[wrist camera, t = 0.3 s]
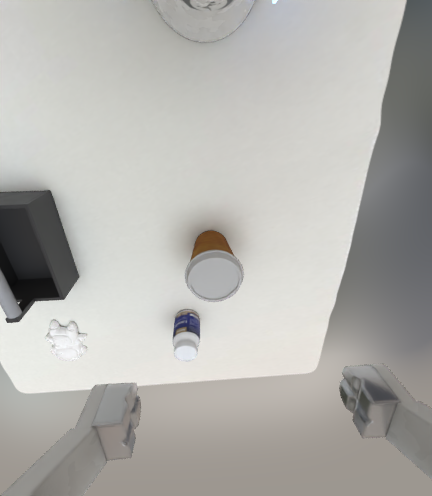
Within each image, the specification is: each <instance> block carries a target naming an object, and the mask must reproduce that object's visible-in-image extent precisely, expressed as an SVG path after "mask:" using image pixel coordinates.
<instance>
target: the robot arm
mask: <svg viewBox="0 0 432 496" xmlns="http://www.w3.org/2000/svg"><path fill="white" fill-rule="evenodd" d="M255 1H256V0H152V2H153V4H154V5H155V7H156V9H157V10H158V12H159V14H160V15H161V17H162V18H163V19H164V21H165V22H166V23H167V24H168V25H169V26H170V27H171V28H172V29H173V30H174V31H176V32H177V33H178V34H180V35H181V36H183V37H185V38H187V39H190V40H193V41H197V42H213V41H217V40H220V39H223V38H225V37H226V36H228V35H230V34H231V33H232V32H234V31H235V30H236V29H237V28H238V27H239V26H240V25H241V24H242V22H243V21H244V20H245V18H246V17H247V15H248V14H249V12H250V10H251V8H252V6H253V4H254V2H255ZM276 1H277V0H273V3H276ZM342 374H343V376H344V379H343V380H342V381H341V382H340V388H339V389H340V395H341V398H342V401H343V403H344V405H345V407H346V408H347V409H348V410H349V411H350V412H352V413H353V422H354V424H355V425H356V427H357V429H358V431H359V433H360V435H361V436H362V438H377V437H386V439H387V440H388V441H389V442H390V443H391V444H393V445H394V446H395V447H396V448H397V449H398V450H399V451H400V452H402V453H403V454H404V455H405V456H406V457H407V458H408V459H409V460H411V461H412V462H413V463H414V464H415V465H416V466H417V467H418V468H420V469H421V470H422V471H423V472H424V473H425V474H426V475H427V476H429V477H430V478H431V479H432V408H431V407H429V406H427V405H426V404H424V403H423V402H421V401H416V400H415V399H414V398H413V397H412V396H411V395H410V393H409V392H408V391H407V390H406V388H405V387H404V386H403V385H402V384H401V382H400V381H399V380H398V379H397V378H396V376H395V375H394V374H393V373H392V372H391V370H390V369H389V368H388V367H387V366H386V365H384V364H372V365H358V366H346V367H344V369H343V372H342ZM137 390H138V388H137V384H136V383H118V384H101V385H95V386H94V387H93V388H92V390H91V393H90V395H89V397H88V399H87V402H86V404H85V407H84V409H83V411H82V413H81V416H80V418H79V420H78V423H77V425H76V427H75V429H70V430H69V431H68V432H67V433H66V434H65V435H64V436H63V437H62V438H61V439H60V440H59V441H57V442H56V443H55V444H54V445H53V446H52V447H51V448H50V449H49V450H48V451H47V452H46V453H45V454H44V455H43V456H42V457H41V458H40V459H39V460H37V461H36V462H35V463H34V464H33V465H32V466H31V467H30V468H29V469H28V470H27V471H26V472H25V473H24V474H23V475H22V476H21V477H20V478H18V479H17V480H16V481H15V482H14V483H13V484H12V485H11V486H10V487H9V488H8V489H7V490H6V491H5V492H4V493H3V494H2V495H1V496H83V495H84V493H85V492H86V491H87V489H88V488H89V487H90V485H91V484H92V482H93V481H94V479H95V478H96V477H97V475H98V474H99V473H100V471H101V470H102V468H103V467H104V466H105V464H106V463H107V461H109V460H117V459H126V458H131V457H132V453H133V448H134V444H135V439H136V437H135V432H134V429H136V427H137V426H138V425H139V420H140V413H141V402H140V397H139V396H137Z"/></svg>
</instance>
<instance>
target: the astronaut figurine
mask: <svg viewBox="0 0 432 496" xmlns="http://www.w3.org/2000/svg"><path fill="white" fill-rule="evenodd" d="M86 337H87V335H86V334H79V333H78V330H77V326H76V324H75V323H74V322H71V323H69V325H68V327H61V326H60V325H59V323H58V322H57V321H55V320H53V321H52V322H51V324H50V326H49V334H47V335H46V337H45V339H46V340H47V341H49V343H53V344H54V345H53V346H52V347H51V350H50V351H51V353H52V354H54V355H55V356H56V357H58V358H59V359H61V360H64V361H73V360H76V359H78V358H80V357H81V356H82V355H83V354H85V353H86V351H87V348H86V347H85V346H84V345H82V344H81V343H82V342H83V341H84V340H85V339H86Z"/></svg>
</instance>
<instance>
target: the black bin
mask: <svg viewBox="0 0 432 496" xmlns="http://www.w3.org/2000/svg"><path fill="white" fill-rule="evenodd" d="M78 278H79V275H78V272H77V269H76V266H75V263H74V260H73V257H72V254H71V251H70V248H69V245H68V242H67V239H66V236H65V233H64V230H63V227H62V224H61V221H60V218H59V215H58V212H57V209H56V206H55V202H54V199H53V196H52V193H51V191H23V192H0V305H1V307H2V308H3V310H4V312H5V314H6V316H7V318H6V321H7V323H13V322H19V321H20V320H21V319H22V317H23V316H24V315H25V314H26V312H27V311H28V310H29V309H30V308H31V306H32V305H33V304H34V303H35V301H49V300H64V299H65V298H66V296H67V295H68V293H69V292H70V290H71V289H72V287H73V286H74V284H75V283H76V281H77V280H78ZM17 302H20V303H19V304H18V303H17Z"/></svg>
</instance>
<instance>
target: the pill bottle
mask: <svg viewBox="0 0 432 496" xmlns="http://www.w3.org/2000/svg"><path fill="white" fill-rule="evenodd" d="M199 343H200V318H199V315H198V314H197V313H196V312H194V311H192V310H183V311H180V312H179V313H178V314H177V315H176V317H175V323H174V333H173V346H174V356H175V357H176V358H177V359H178V360H181V361H191V360H193V359H195V358H196V356H197V351H198V346H199Z"/></svg>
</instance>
